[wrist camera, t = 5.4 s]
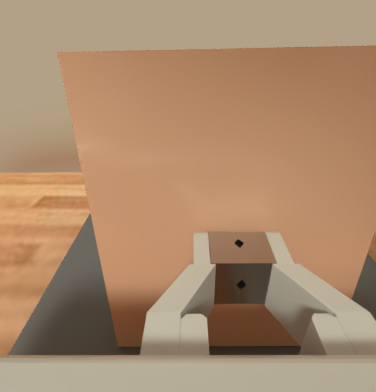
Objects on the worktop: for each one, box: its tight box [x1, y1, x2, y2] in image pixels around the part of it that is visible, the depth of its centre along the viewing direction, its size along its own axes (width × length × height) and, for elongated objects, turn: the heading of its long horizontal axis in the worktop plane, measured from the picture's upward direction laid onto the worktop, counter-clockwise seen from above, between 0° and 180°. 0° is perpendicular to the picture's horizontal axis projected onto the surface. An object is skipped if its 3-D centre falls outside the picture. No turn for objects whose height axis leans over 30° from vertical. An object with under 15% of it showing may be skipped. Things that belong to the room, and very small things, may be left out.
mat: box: [8, 213, 376, 355], centre depth 18 cm, size 20×18×1 cm
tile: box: [58, 46, 376, 347], centre depth 10 cm, size 10×2×12 cm, turn 90°
